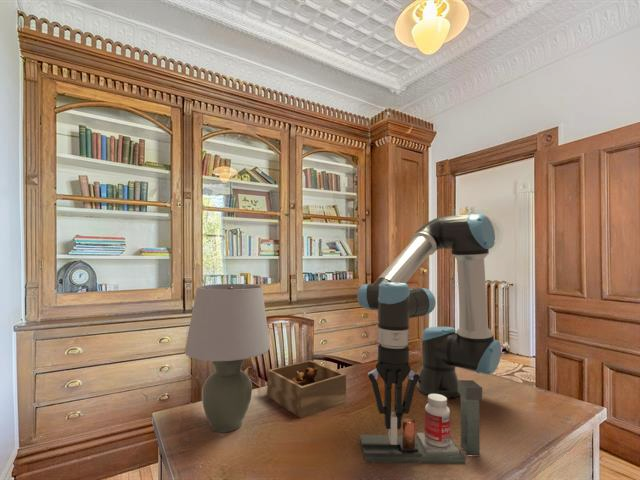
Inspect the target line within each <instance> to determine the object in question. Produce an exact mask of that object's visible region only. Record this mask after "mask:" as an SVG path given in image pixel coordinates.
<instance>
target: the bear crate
mask: <svg viewBox="0 0 640 480" xmlns="http://www.w3.org/2000/svg"><path fill="white" fill-rule="evenodd" d="M307 367H308V368H313V369H315V367H316V368H317V371H316V376H315V378H314V379H315V383H312V384H308V385H305V386H301V385H299V384H297V383H295V382H293V381H292V379H293V378H296V379H297V371H298V373H299V372H303V373H304V372H305V369H306V368H307ZM266 381H267V384H266V385H267V386H266V387H267V388H266V397H268V398H269V399H270V400H273V401H274V402H276V403H277V404H279V405H280V406H282V407H283V408H284V409H286V410H287V411H289V412H291V413H292V414H294V415H295V416H297V417H298V418H300V419H302V418H305V417H308V416H310V415H313V414H315V413H319V412H322V411H324V410H327V409H329V408H332V407H335V406H338V405H341V404H344V403H346V402H347V374H346V373H343V372H341V371H338V370H336V369H333V368H331V367H329V366H325V365H323V364H321V363H318V362H317V361H314V360H311V359H309V360H305V361H300V362H296V363H292V364H287V365H283V366H279V367H274V368H271V369H267V380H266Z"/></svg>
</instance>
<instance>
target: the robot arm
mask: <svg viewBox="0 0 640 480" xmlns="http://www.w3.org/2000/svg"><path fill="white" fill-rule="evenodd" d="M495 240H496V233H495V227H494V226H493V223H492V221H491V220H490V218H489V217H488V216H487V215H485V214H482V213H469V214H459V215H457V214H456V215H449V216H448V215H444V216H439V217H435V218H434V219H431V220H429V221H428V222H427V223H425V224H423V225H422V226H421V227H420V228H419V229H417V230H416V231H415V232H414V233H413V234H412V236H411V238H410V242H409V243H408V244H407V245H406V246H405V248H404V249H403V250H402V251H401V252H400V253H399V254H398V255H397V256H396V258H394V260H392V262H391V263H390V264H389V266H388V267H387V268H386V269H385V270H384V271H383V272H382V273H381V274H380V275H379V277H378V278H377V279H376V280H375V281H374V282H373V283H367V284H366V283H365V284H362V285H360V287H359V288H358V291H357V296H356V297H357V302H358V304H359V305H360V306H361V307H362V308H364V309H368V310H371V311H377V312H378V327H377V328H378V329H377V330H378V333H377V335H378V336H377V342H378V343H379V344H378V346H377V363H376V365H375V368H374V369H372V370H368V371H367V373H366V375H367V377H368V379H369V380H370V382H371V385H372V389H373V394H374V398H375V404H376V407H377V410H378V413H379V414H382V415H384V425H385V428H386V429H387V430H388V435H389V441H390V443H391V445H397V435H398V430H401V429H402V418H403V415H404V414H406V415H408V414H409V413H410V410H411V405H412V401H413V397H414V393H415V389H416V385H417V389H418V391H420V392H421V393H423V394H424V395H427V396H428V395H429V394H440V395H443V396H445V397H446V398H447V399H449V398H448V397H454V398H456V397H455V396H458V395H459V394H460V393H459V392H458V380H459V379H458V376H457V372H456V368H460V369H463V370H467V371H470V372H473V373H474V372H475V373H476V374H483V375H491V374H494V373H495V372H496V371H497V369H498V367H499V364H500V362H501V361H500V360H501V357H502V345H501V342H500V341H499V340H498V339H495V338H494V335H495V334H494V332H493V331H492V330H491V329H490V328H489V323H488V322H489V321H488V319H489V318H488V306H487V305H488V304H487V301H488V300H487V287H486V286H487V285H486V272H485V271H486V270H485V267H486V266H485V258H486V257H487V256H488V255H489V251H490V249H492V248H493V247H494V246H495V243H496V242H495ZM443 249H447V250H448V249H450V250H451V256H453V257H454V258H455V259H456V271H457V283H458V284H457V286H458V301H459V318H460V319H459V321H460V327H459V328H458V329H457V330H456V329H455V327H451V326H431V327H425V329H424V330H422V337H421V344H422V345H421V348H422V349H421V351H422V353H421V355H422V358H421V359H422V368H421V369H420V373H419V374H418V373H417V371H413V370H412V369H411V366H410V359H409V358H410V356H409V355H410V347H409V346H408V345H409V344H410V343H409V341H410V339H409V337H410V335H409V332H410V331H409V329H410V326H409V324H410V323H409V322H410V319H411V318H417V317H424V316H427V315H429V314H431V313H432V312H433V311H434V309H435V308H436V298H435V295H434V294H433V293H434V292H432V291H431V290H429V289H428V288H424V287H415V288H413V287H410V286H409V284H408V283H407V282H408V281H409V280H410V279H411V277H412V276H413V275H414V274H415V273H416V271H417V270H418V269H419V268H420V266H421V265H422V264H423V263H424V262H425V260H426V259H427V258H428V257H429V256H432V255H433V254H435V252H436V251H438V250H443ZM378 375H379V377H380V378H381V379H382V380H383V383H384V395H383V397H384V400H383V401H384V402H383V401H382V396H381V392H380V387H379V385H378V379H379V377H378ZM406 378H407V379H408V380H407V383H406V387H405V392H404V396H403V382H404V381H405V379H406ZM393 384H394V411H392V388H393ZM460 395H461V394H460ZM460 395H459V396H460ZM459 396H458V397H459ZM402 397H403V398H402ZM383 403H384V404H383Z"/></svg>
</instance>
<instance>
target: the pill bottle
mask: <svg viewBox="0 0 640 480" xmlns="http://www.w3.org/2000/svg"><path fill="white" fill-rule="evenodd" d="M427 402H428V403H426V405H425V406H424V433H425V439H426V441H427V442H428V443H429V444H431V445H433V446H437V447H446V446H448V445H449V444H450V437H451V409H450V407H448V406H447V405H448V398H446V397H445V396H443V395H440V394H429V395H427Z"/></svg>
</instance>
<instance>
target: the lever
mask: <svg viewBox="0 0 640 480" xmlns="http://www.w3.org/2000/svg"><path fill="white" fill-rule="evenodd" d="M402 435H403V438H402V443H399V448H400V450H401V452H418V448H417V446H416V444H415V435H416V421H415V420H414V419H412V418H403V419H402Z"/></svg>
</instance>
